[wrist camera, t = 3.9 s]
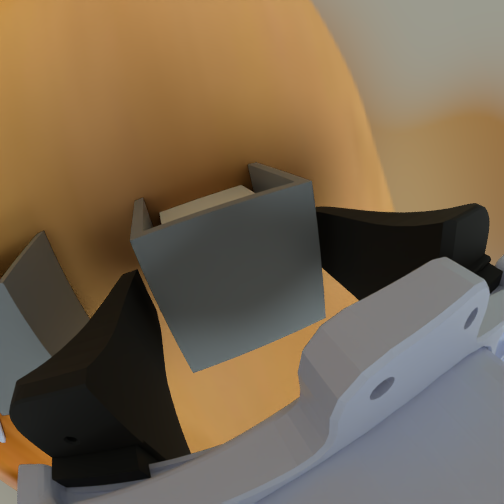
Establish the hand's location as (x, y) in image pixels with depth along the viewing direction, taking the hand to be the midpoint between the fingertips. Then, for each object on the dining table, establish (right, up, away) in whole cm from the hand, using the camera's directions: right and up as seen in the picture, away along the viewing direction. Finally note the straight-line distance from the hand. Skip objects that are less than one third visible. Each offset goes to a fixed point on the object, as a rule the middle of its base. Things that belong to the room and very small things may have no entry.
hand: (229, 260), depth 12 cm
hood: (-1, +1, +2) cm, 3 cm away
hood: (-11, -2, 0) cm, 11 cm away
